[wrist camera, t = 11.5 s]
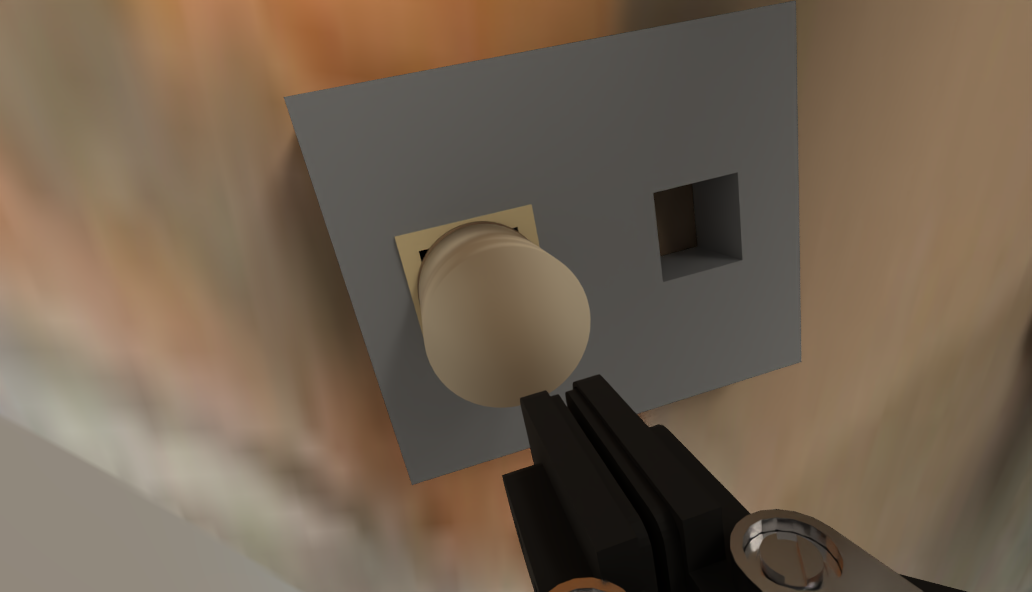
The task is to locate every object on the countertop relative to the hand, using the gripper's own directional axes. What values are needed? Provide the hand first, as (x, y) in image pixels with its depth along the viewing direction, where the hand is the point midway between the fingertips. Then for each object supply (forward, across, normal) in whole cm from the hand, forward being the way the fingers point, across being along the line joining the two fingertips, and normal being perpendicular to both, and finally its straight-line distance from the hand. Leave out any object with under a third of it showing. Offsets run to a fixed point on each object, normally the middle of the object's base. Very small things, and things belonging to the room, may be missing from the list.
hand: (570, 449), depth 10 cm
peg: (+16, 0, 0) cm, 16 cm away
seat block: (+17, -6, 0) cm, 18 cm away
